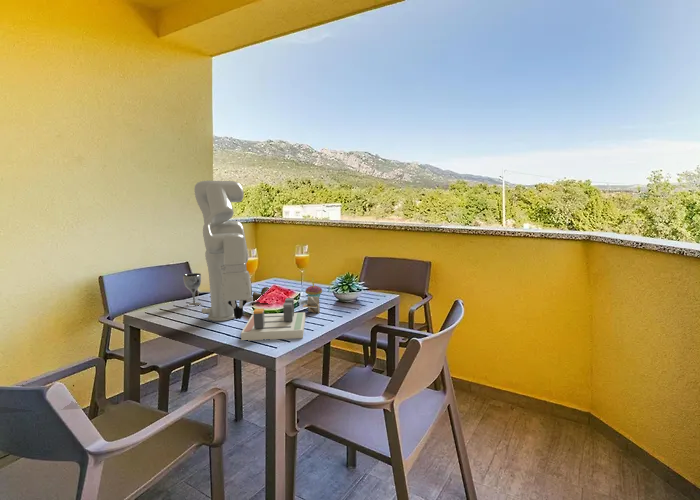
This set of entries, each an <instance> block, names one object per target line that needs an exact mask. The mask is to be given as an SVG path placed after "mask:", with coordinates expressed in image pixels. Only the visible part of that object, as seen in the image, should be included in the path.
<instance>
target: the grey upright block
mask: <svg viewBox="0 0 700 500" xmlns="http://www.w3.org/2000/svg"><path fill="white" fill-rule="evenodd" d="M253 314H254V329H257V328H264V326H265V320H264V314H265V308H263V307H262V308H255V309H254V310H253Z"/></svg>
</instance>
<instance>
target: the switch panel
mask: <svg viewBox="0 0 700 500" xmlns="http://www.w3.org/2000/svg"><path fill="white" fill-rule="evenodd" d="M282 309H283V313H281V312H280V313H264V320H265V326H264V328H257V329H254V313H252V314H251V316H250V318H248V321H247V323H246V324H245V326H244V327H243V328H242V331H241V332H240V337H241V338H240V339H241V341H242V340H248V341H264V340H263V339H265V341H267V340H266V339H270V340H283V339H284V340H287V339H288V340H290V339H304V334H305V327H306V326H305V325H306V312H295V301H294V297H286V298H285V299H284V303H283V307H282ZM242 342H243V341H242Z"/></svg>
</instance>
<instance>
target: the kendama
mask: <svg viewBox="0 0 700 500" xmlns="http://www.w3.org/2000/svg"><path fill="white" fill-rule="evenodd" d="M269 288H270V287H268V286H267V287H266V286H264V287H263V288H261V290H260V293H258V292H255V291H254V292H253V291H252V298H253V301H255V300H257V299H258V298H259V297H260V296H261V295H263V294H264V293H265V292H266V291H267V290H268V289H269ZM253 301H252V302H253Z"/></svg>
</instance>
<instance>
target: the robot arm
mask: <svg viewBox="0 0 700 500" xmlns="http://www.w3.org/2000/svg"><path fill="white" fill-rule="evenodd" d="M244 194H245V192H244V189H243V186H242V184H241V183H240V182H238V181H233V180H202V181H198V182H197V183H196V184H195V185H194V198H195V200H196V202H197V205H198V207H199V209H200V211H201V213H202V217H203V223H204V224H203V226H202V237H203V242H204V247H205V249H206V250H205V254H204V255H205V260H206V266H207V272H208V279H209V280H208V281H209V296H210V307H209V308H207V307H203V308H201V313H202V314H204V315H205V314H208V315H207V319H208V320H210V321H211V320H212V322H223V321H224V322H225V321H230V320H234V319H236V320H241V319H242V318H243V316H244V306H246V304H248V303H252V302H253V289H252V288H253V287H252V282H251V275H250V272H249V270H247V263H248V261H249V252H248V245H247V241H246V240H247V239H246V234H245V230H244V225H243V224H242V222H241V221H238V220H231V219H232V218H233V217H234V208H233V205H232V203H240V202H242V201H243V199H244V197H245V196H244ZM238 301H239V302H238Z"/></svg>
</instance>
